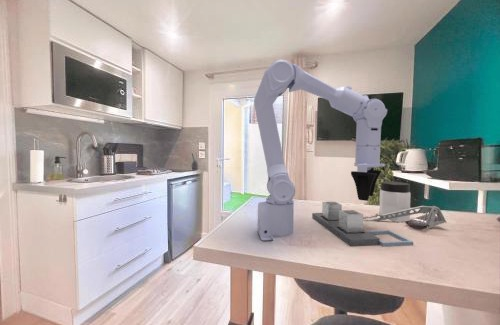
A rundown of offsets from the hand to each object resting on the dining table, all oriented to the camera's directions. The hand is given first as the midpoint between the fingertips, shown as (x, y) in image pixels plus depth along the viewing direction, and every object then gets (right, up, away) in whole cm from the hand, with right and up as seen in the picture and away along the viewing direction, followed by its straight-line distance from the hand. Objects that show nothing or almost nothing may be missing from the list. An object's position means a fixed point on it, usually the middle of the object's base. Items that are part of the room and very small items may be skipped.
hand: (365, 197), depth 59 cm
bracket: (+14, -10, +8) cm, 19 cm away
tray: (+2, -10, -5) cm, 12 cm away
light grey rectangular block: (-5, -9, -3) cm, 11 cm away
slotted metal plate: (-6, -10, +2) cm, 12 cm away
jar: (+18, -10, +16) cm, 25 cm away
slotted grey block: (-7, -9, +7) cm, 13 cm away
